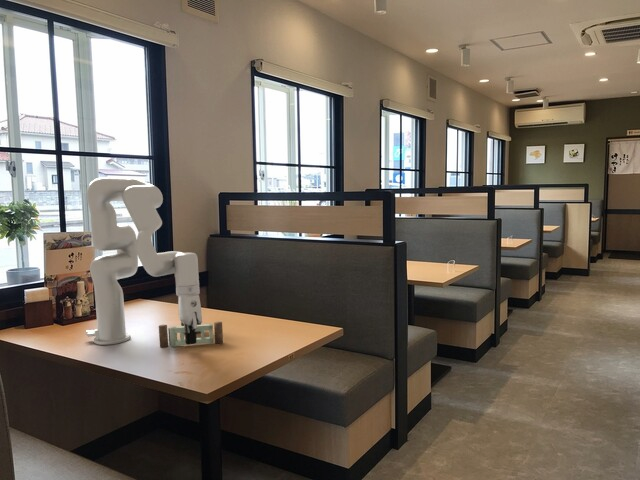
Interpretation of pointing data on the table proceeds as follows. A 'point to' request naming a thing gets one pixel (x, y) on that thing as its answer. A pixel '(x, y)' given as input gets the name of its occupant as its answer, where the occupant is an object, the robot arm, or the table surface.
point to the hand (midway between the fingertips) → (191, 343)
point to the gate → (202, 340)
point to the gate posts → (164, 335)
